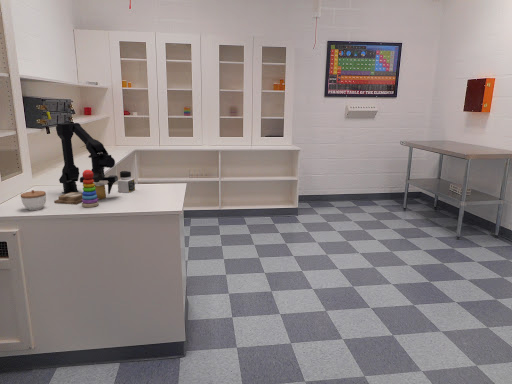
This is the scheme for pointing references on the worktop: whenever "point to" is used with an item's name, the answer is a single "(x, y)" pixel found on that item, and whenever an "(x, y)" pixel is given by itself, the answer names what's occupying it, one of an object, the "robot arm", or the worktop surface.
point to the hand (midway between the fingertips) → (100, 194)
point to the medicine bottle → (126, 182)
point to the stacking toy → (89, 190)
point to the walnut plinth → (70, 198)
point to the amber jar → (100, 190)
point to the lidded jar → (34, 199)
